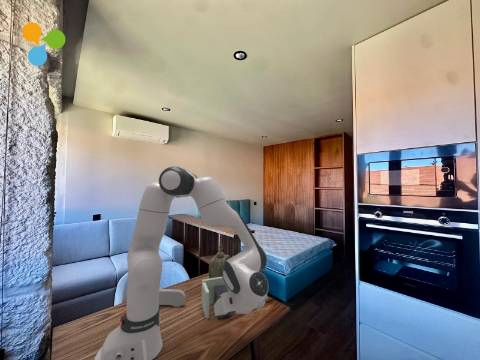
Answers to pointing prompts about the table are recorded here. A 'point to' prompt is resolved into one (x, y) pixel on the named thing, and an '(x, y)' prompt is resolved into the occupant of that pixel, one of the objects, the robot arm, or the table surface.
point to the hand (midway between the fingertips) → (235, 310)
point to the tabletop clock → (217, 264)
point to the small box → (217, 294)
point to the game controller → (171, 297)
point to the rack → (210, 292)
